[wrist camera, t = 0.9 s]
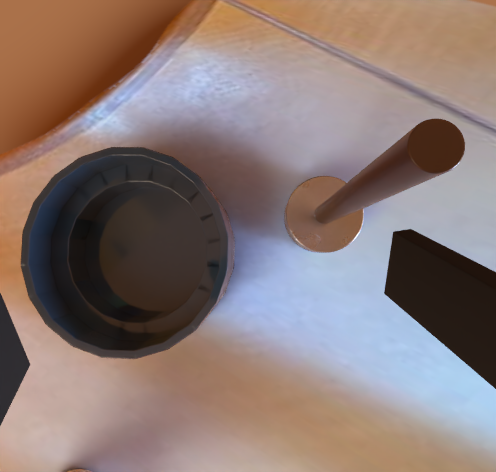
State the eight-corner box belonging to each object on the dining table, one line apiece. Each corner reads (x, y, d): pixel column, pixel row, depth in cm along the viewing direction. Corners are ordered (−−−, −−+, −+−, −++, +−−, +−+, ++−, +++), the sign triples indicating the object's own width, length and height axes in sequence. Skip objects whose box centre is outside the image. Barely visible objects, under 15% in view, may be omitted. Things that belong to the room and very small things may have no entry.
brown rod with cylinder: (327, 169, 32) (460, -3, 10) (368, 226, 32) (599, 170, 10) (270, 209, 32) (283, 121, 11) (310, 266, 32) (412, 299, 10)
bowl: (172, 134, 33) (150, 106, 27) (269, 272, 32) (270, 278, 26) (37, 230, 34) (-17, 225, 27) (127, 371, 32) (93, 401, 26)
